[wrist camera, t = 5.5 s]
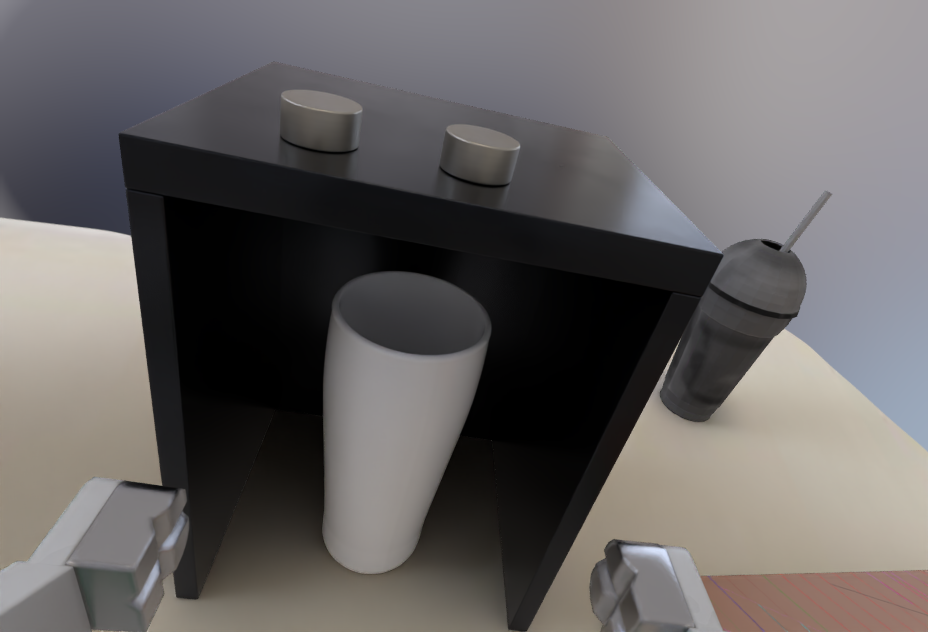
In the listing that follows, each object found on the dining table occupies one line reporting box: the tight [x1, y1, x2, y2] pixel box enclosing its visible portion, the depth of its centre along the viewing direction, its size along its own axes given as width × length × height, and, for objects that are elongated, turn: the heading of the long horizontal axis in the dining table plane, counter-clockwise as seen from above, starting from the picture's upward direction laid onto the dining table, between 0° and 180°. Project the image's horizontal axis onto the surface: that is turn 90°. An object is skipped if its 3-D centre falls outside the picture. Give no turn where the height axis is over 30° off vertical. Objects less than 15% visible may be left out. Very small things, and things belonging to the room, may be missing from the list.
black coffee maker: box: [119, 62, 724, 631], centre depth 26 cm, size 14×17×23 cm
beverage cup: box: [660, 191, 832, 422], centre depth 42 cm, size 7×7×20 cm
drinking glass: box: [322, 271, 492, 574], centre depth 26 cm, size 7×7×15 cm
